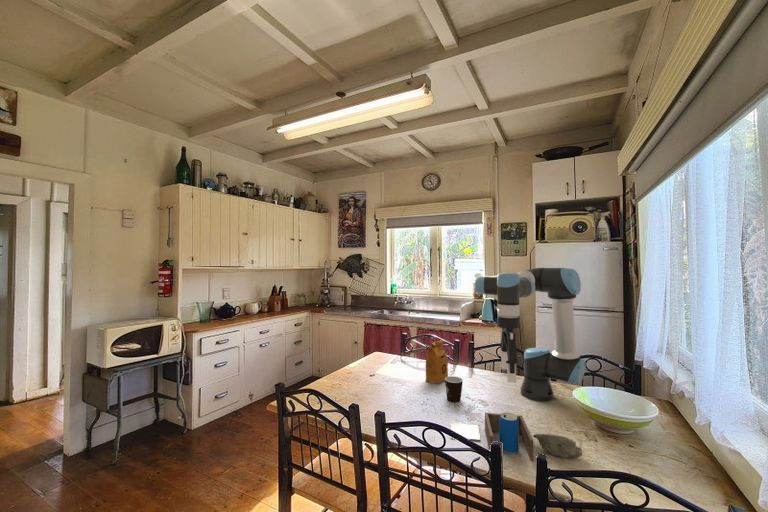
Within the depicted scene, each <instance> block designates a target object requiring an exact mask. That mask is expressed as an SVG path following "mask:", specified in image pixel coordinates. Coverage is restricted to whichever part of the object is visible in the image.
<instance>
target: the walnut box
mask: <svg viewBox="0 0 768 512" xmlns="http://www.w3.org/2000/svg"><path fill="white" fill-rule="evenodd" d="M500 415H501V413H496V412H495V413H494V412H486V411H485V412H484V433H485V437H486V441H487V442H486V443H487V447H488V451H489V450H490V445H491V443H492V442H493V443H494V433H498V434H499V417H500ZM515 415H516V416H517V419H518V436H519V437H520V438H521V441H522V443H523V447H524V449H525V451H526V454H527V457H528V459H529V461H530V462H534V439H533V437H532V434H531V432H530V430H529V428H528V425H527V424H526V421H525V419H524V417H523V415H518V414H515Z"/></svg>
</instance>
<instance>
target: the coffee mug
mask: <svg viewBox="0 0 768 512" xmlns="http://www.w3.org/2000/svg"><path fill="white" fill-rule="evenodd" d="M463 381H464V380H463V378H462V377H459V376H454V375H452V376H451V375H450V376H449V375H448V377H446V378H445V380H444V384H445V393H446V401H447V402H449V403H452V404H457V403H458V404H459V403H461V398H462V391H463Z"/></svg>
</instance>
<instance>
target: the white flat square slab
mask: <svg viewBox="0 0 768 512" xmlns="http://www.w3.org/2000/svg"><path fill="white" fill-rule="evenodd" d="M450 429H451V430H453V431H455V432H457V433H459V434H461V435H463V436H464V437H466V438H468V439H470V440H469V441H472V442H481V435H480V431H479V424H467V423H459V422H450Z"/></svg>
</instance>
